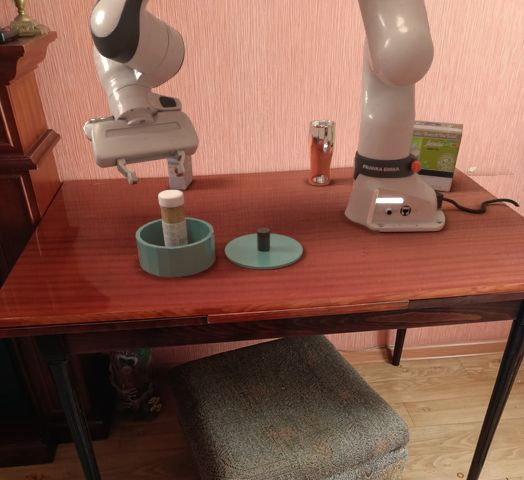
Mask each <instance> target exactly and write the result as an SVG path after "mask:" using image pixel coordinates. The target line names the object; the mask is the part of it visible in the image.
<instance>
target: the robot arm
mask: <svg viewBox="0 0 524 480" xmlns="http://www.w3.org/2000/svg"><path fill="white" fill-rule="evenodd" d="M148 3H150V0H96V2H95V3H94V5H93V7H92V9H91V12H90V15H89V29H90V30H89V31H90V35H91V38H92V42H93V49H92V50H93V61H94V66H95V70H96V73H97V76H98V79H99V83H100V86H101V88H102V89H103V91H104V92H105V94H106V101H107V106H108V109H109V112H110V116H109V115H108V116H103V117H91V118H89V120H88V121H86V122H85V123H84V125H83V131H84V134H85V137H86V139H87V140H88V141H90V144H91V149H92V155H93V159H94V162H95V164H96V165H97V166H98V167H99V168H101V169H107V168H111V167H116V169H117V171H118V172H119V173H120V174H121V175H122V176H123V177H125V178H126V179H127V183H128V186H131V185H137V184H138V182H139V179H138V176H137V172H136V171H131V170H130V169H129V168H128V167H127V165H132V164H139V163H146V162H152V161H159V160H167V158H174V157H175V158H176V160H177V161H180V163H179V165H176V166H175V169H174V171H175V173H176V176H177V177H183V176H185V169H184V166H183V164H184V159H185V156H187V155H191V156H192V155H195V154H196V152H197V150H198V148H199V146H200V139H199V136H198V133H197V130H196V129H195V126H194V124H193V122H192V120H191V118H190V117H189V115H188V114H187V113H186V112H184V111H182V109H183V107H182V106H183V105H182V101H181V100H180V98H178V97H173V96H167V95H163V94H159V93H156V92H153V90H152V89H156V88H158V87H160V86H161V85H163V84H165V83H167V82H168V81H170V80H171V79H172V78H174V77H175V76H176V75H177V74H178V73H179V72H180V70H181V69H182V67H183V65H184V61H185V56H186V54H185V53H186V50H185V41H184V39H183V36H182V34H181V33H180V32H179V30H177V29H176V28H174V27H173V26H172V25H170V24H169V23H168V22H166V21H164V20H163V19H162V18H160V17H158V16H156V15H155V14H153V13H151V12H150V11H149V10H147V5H148ZM357 3H358V7H359V11H360V14H361V19H362V22H363V27H364V31H365V37H364V42H363V52H362V69H361V100H360V101H361V105H360V106H361V108H360V110H361V111H360V123H359V132H358V143H357V150H356V151H355V155H354V158H353V168H352V176H353V177H352V178H353V182H352V187H351V192H350V196H349V199H348V201H347V204H346V205H347V206H346V209H345V210H344V215H345V217H346V218H347V219H348V220H350V221H352V222H354V223H357V224H360V225H362V226H365V227H367V228H368V229H370V230H371V231H378V232H380V233H392V232H397V233H398V232H402V233H403V232H438V231H441V230H442V229H444V227H445V224H446V216H445V213H444V212H443V210H442V207H443V202H447V203H450V204H452V205H453V206H454V207H455V208H457V209H458V210H460V211H464V212H467V213H475V214H479V213H484V212H485V211H486V210H487V206H486V205H490V204H494V203H502V202H503V203H509V204H512V205H513V206H514V207H516V208H520V204H519V203H518V202H517V201H516V200H514V199H510V198H495V199H489V200H485V201H482V202H481V208H470V207H465V206H462V205H460V204H459V203H458V202H457V201H455V200H453V199H451V198H448V197H444V196H445V195H444V194H443V193H441V192H440V191H438V190H434V189H433V188H432V186H431V185H430V184H428V183H427V182H426V181H425V180H424V179H423V178H422V177H421V176H420V175H419V174H418V173H416V172H419V170H421V169H420V168H421V163H420V162H419V161H418V158H417V157H416V156H415V154H414V155H412V154H411V153H410V148H411V141H412V135H413V128H414V122H415V120H416V84H417V83H418V82H420V81H421V80H423V78H424V77H425V76H426V75H427V74H428V72H429V71H430V70H431V67H432V64H433V61H434V56H435V47H434V42H433V39H432V34H431V33H432V32H431V29H430V23H429V18H428V13H427V8H426V3H425V0H357Z"/></svg>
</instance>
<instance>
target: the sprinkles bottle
mask: <svg viewBox="0 0 524 480" xmlns="http://www.w3.org/2000/svg"><path fill="white" fill-rule="evenodd" d="M157 198H158V204H159V207H160V213H161V219H162V226H163V233H164V241H165V246H166V247H173V246H183V245H188V239H187V229H186V219H185V217H186V214H185V207H184V205H185V195H184V192H183V191H182V190H177V189H166V190H163V191H160V192H158V195H157Z"/></svg>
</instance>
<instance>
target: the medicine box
mask: <svg viewBox="0 0 524 480" xmlns="http://www.w3.org/2000/svg"><path fill="white" fill-rule="evenodd" d="M166 163H167V164H166V165H167V172H168V184H169V190H179V191H185V190H187V188H188V187H189V186H190V184H191V183H192V182H193V181H194V174H193V173H194V171H193V157H192V155H187V156H185V159H184V164H183V166H184V169H185V176H183V177H177V176H176V173H175V171H174V169H175V166H176V165H179V163H180V161H177V160H176V158H175V157H174V158H167V159H166Z"/></svg>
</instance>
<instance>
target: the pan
mask: <svg viewBox="0 0 524 480" xmlns="http://www.w3.org/2000/svg"><path fill="white" fill-rule="evenodd" d="M185 219H186V229H187V239H188V245H183V246H173V247H166V246H165V241H164V233H163V226H162V218H159V219H156V220H152V221H149V222H147V223H145V224H143V225H142V226H140V227H139V228H138V229H137V231H136V232H135V242H136V248H137V254H138V261H139V265H140V267H141V268H142V270H143V271H145V272H147V273H149V274H150V275H153V276H158V277H163V278H164V277H165V278H181V277H188V276H193V275H197V274H199V273H202V272H205V271H206V270H208V269H209V268H211V267H212V266H213V265H214V264H215V262H216V260H217V259H216V258H217V257H216V243H215V230H214V227H213V226H212V224H211V223H210V222H208V221H205V220H204V219H201V218H196V217H189V216H188V217H187V216H185Z"/></svg>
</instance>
